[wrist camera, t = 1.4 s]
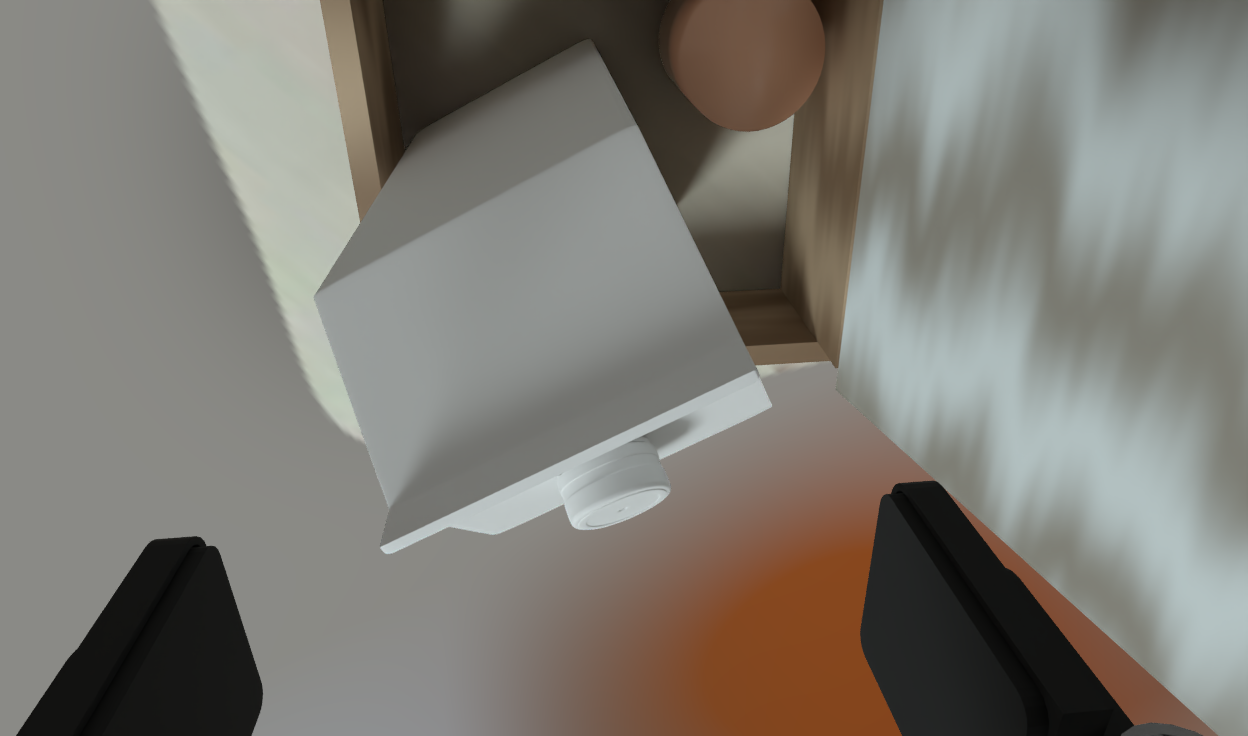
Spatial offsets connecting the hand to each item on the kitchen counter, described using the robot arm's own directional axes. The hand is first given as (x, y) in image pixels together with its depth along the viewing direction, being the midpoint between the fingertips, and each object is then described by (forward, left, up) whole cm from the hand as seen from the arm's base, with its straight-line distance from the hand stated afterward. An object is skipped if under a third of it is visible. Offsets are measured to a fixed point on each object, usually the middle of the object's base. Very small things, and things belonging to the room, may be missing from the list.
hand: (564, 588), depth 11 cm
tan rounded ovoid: (-5, +6, -21) cm, 23 cm away
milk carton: (0, 0, -22) cm, 22 cm away
